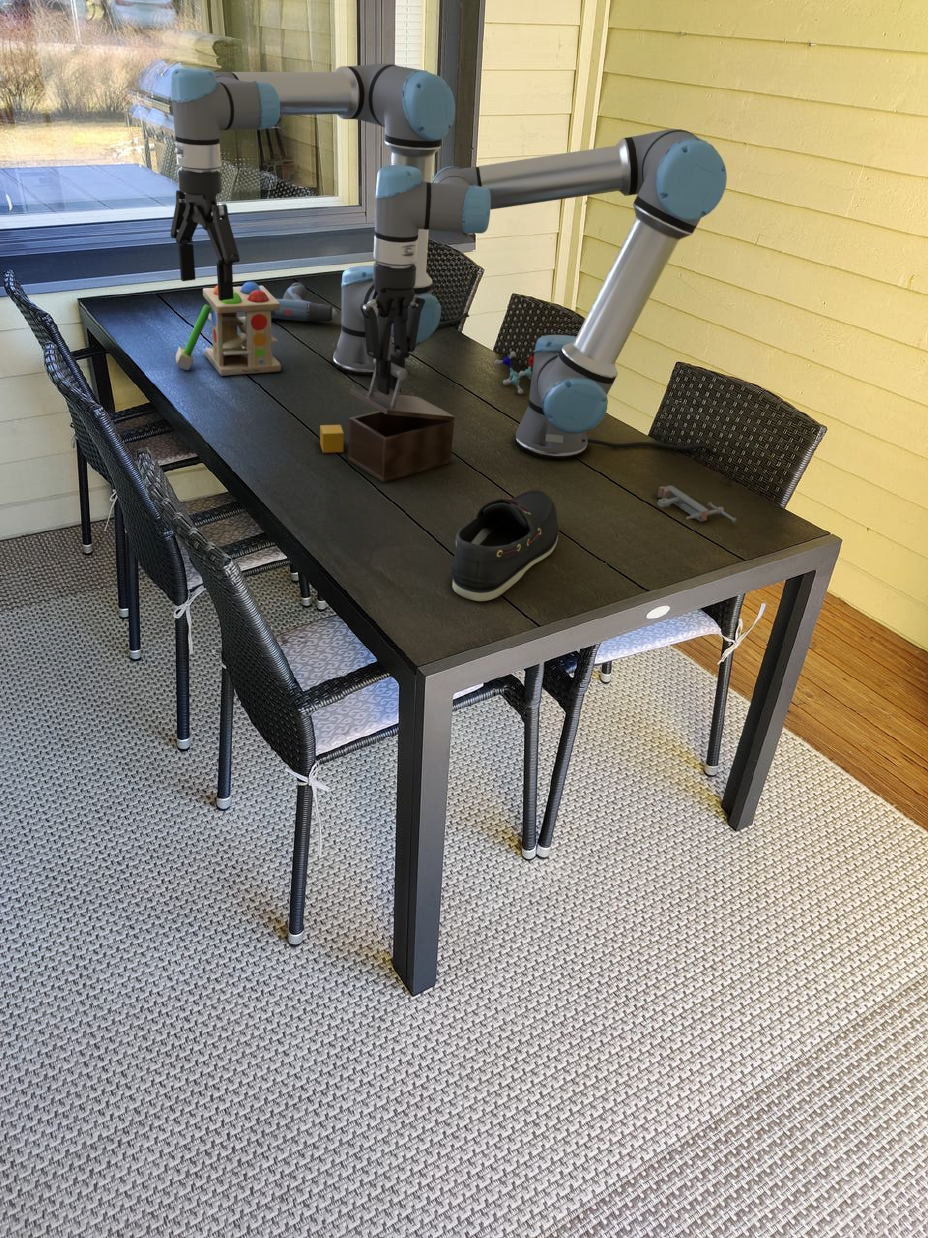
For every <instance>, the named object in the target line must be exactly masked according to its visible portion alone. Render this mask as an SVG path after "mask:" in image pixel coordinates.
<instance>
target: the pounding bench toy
mask: <svg viewBox="0 0 928 1238" xmlns="http://www.w3.org/2000/svg"><path fill="white" fill-rule="evenodd" d="M202 296H203V298H204V299H205V300H206V301H207V302H208V304H209V305H208V304H204V305H203V307H202V309H201V312H200V313H199V316H198V318H197V320H196V322H195V324H194V327H193V329H192V331H191V332H190V333H191V334H190V336H189V338H188V340H187V343H186V344H185V347H184V348H182V347H180V346H179V347H178V349H177V351H176V354H175V357H174V358H175V362H176V365H177V366H178V368H179V369H182V370H185V371H189V370H190V369H191V367H192V365H193V363H194V356H193V351H194V348H195V347H196V345H197V342H198V340H199V337H200V336H201V333H202V332H203V329H204V326H205V325H206V322H207V320H209V321H210V322H211V336H212V337H211V338H212V339H211V340H212V348H205V349H204V352H205V353H204V355H205V357H206V359H208V361H209V363H210V364H211V365H212V366H213V367H214V369H215V370H216V371H217V372H218V374H219V375H220V376H222V377H223V376H234V375H235V376H236V375H246V374H247V375H250V374H262V373H275V372H281V370H282V364H281V363H280V362H279V360H278V359H277V358H276V357H275V356H274V355H273V348H272V347H273V345H272V344H276V343H278V342H279V341H278V339H277V338H276V337H275V336H274V334H272V318H271V310H280V303H279V302H278V301H277V300H276V299H277V298H276V297H274V296H273V295H272V294H271V293H270V292H269V290H268V289H267V288H266V287H264V285H259V284H257V283H256V282H255V281H247V282H245V283H244V284H243V285H242V286H233V298H234V299H228V300H222V301H220V300H219V297H218V284H217V285H216V286H215V287H204V288H203V289H202ZM238 313H244V314H245V315H244V316H238ZM238 329H239V331H240V333H239V334H238Z"/></svg>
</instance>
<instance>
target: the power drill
mask: <svg viewBox="0 0 928 1238" xmlns="http://www.w3.org/2000/svg"><path fill="white" fill-rule="evenodd" d="M307 295H308V290H307V287H306V285H304V284H303V283H301V282H293V283H292V284H291V285H290V286H289V287H288V288H287V289H286V291H285V292H284V294H283V297H282V298H275V299H276V300H277V301H278V302H279V303H280V310H271V319H274V320H275V319H276V320H283V321H294V322H295V321H297V322H332V321H333V320H334V319H336V318H337V317H338V312H337V311H336V308H334V307H333V306H332V305H331V304H324V303H317V302H313V301H307V300H305V299H306V297H307Z"/></svg>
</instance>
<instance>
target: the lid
mask: <svg viewBox="0 0 928 1238" xmlns="http://www.w3.org/2000/svg"><path fill="white" fill-rule="evenodd" d="M373 364H374V366H375V370H374V374H373V375H372V377H371V382H370V386H369V389H368V390H362V389H355V388H354V389H353V388H349V394H350V396H352V397H355V398H356V399H358V400H359V401H362V402H363V403H365V404H367V405H368V406H370V407H372V408H374V409H375V410H376V411H381V412H383V413H385V414H386V415H397V416H407V417H418V418H428V419H438V420H449V421H454V422H455V418H456V416H455V415H453V414H451V413H449V412H447V411H445V410H443V409H442V408H440V407H438V406H436V405H434V404H432V403H430V402H428V401H427V400H425V399H423V398H421V397H419V396H413V395H405V394H400V393H401V392H400V388H401V389H402V385H403V381H404V380H406V378H407V377H408V374H409V373H408V370H407V369H406V368H405V369H404V368H402V367H400V366H398V365H396V364H394V363H392V362H391V370H390V373H391V375H393V376H395V377H397V378H398V380H397V383H396V387H395V391H394V390H393V393H390V394H389V395H385V394H383V393H382V392H380V391H375V389H376V385H377V383H378V376H377V375H376V359H374V361H373Z"/></svg>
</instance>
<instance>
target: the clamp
mask: <svg viewBox="0 0 928 1238" xmlns="http://www.w3.org/2000/svg"><path fill="white" fill-rule="evenodd" d="M656 497H657V498H659V499H658V501H657V506H659V507H660V508H667V507H669V506H670V507H671V505H673V504H674V505H675V506H677V507H679V508H680V509H681V510H682V511H684V512H686V513H687V514H688V516H686V517H685V519H686V520H691V519H692V520H694V519H696V520H697V521H699V522H704V521H707V519H708V516H711V515H717V516H718V515H723V516H725V517H726V518H728V519H729V520H731V521H732V523H736V522H737V521H738V519H737V517H733V516H732V515H730V514H728V513H727V512H725V509H724V507H723V506H718V507H717V506H715V505H714V504H713V503H712V502H711V501H709V502H707V507H708V508H711V509H712V510H709V509H708V508H706V507H705V506H704V505H702V504H701V503H699V502H698V501H696V500H695V499H693V498H691V497H690V496H689V495H687V494H686V493H684V492H683V491H681V490H679V489H678V488H677V487H675V486H674V485H666V486H664V485H662V486H659V487H658V492H657V496H656ZM660 498H661V499H660Z"/></svg>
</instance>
